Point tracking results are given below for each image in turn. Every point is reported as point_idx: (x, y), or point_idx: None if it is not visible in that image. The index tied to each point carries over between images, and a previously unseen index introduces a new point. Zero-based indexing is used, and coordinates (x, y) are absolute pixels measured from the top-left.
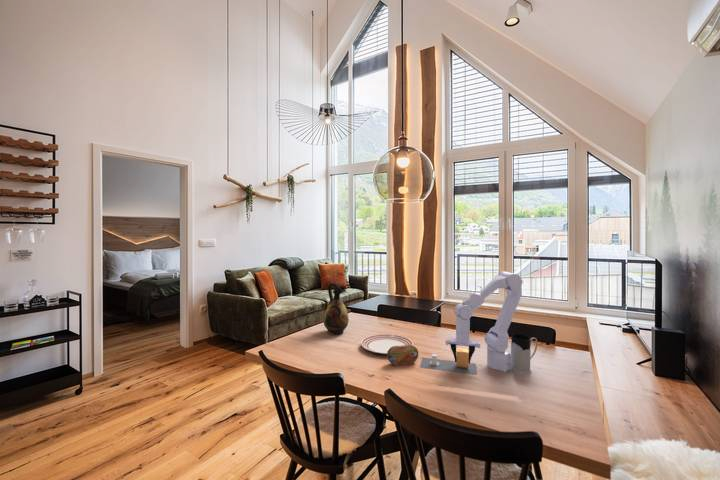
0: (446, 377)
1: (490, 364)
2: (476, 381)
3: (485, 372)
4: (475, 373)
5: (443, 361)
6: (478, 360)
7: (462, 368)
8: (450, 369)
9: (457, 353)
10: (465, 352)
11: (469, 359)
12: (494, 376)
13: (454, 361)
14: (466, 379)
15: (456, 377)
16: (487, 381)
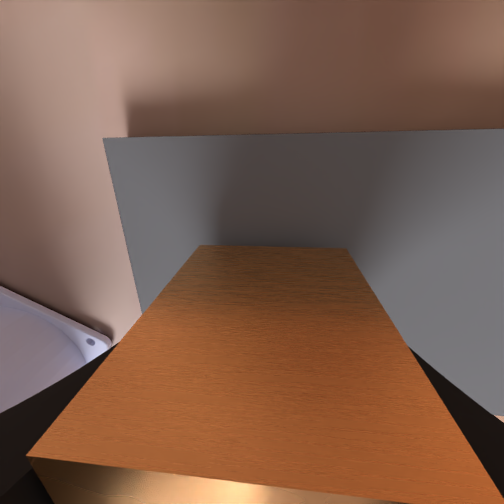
0: (493, 20)
1: (9, 357)
2: (123, 43)
3: (88, 288)
4: (128, 170)
5: (456, 380)
6: None
7: None
8: (424, 195)
9: (433, 428)
10: (141, 480)
11: None
12: (10, 232)
13: None
14: (232, 59)
15: (349, 77)
16: (27, 93)
